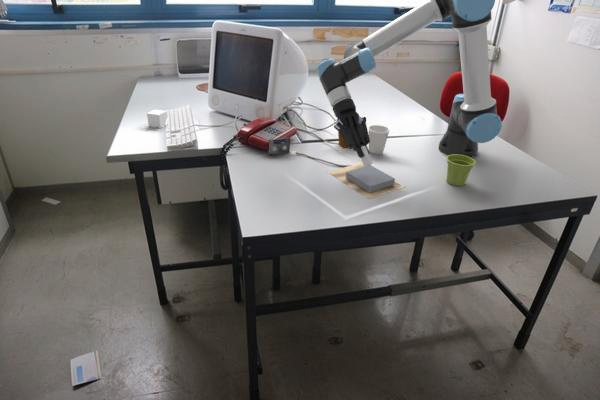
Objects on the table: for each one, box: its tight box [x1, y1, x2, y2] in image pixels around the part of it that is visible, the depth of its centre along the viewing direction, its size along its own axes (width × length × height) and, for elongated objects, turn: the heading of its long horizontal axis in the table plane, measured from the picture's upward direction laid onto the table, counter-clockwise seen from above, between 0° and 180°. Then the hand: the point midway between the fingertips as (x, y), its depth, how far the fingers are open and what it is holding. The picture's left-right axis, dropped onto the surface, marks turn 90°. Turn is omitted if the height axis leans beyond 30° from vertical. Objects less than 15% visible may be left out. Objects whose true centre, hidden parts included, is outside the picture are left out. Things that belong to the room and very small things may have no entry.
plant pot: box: [446, 154, 477, 187], centre depth 141 cm, size 9×9×9 cm
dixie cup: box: [367, 124, 391, 155], centre depth 160 cm, size 8×8×10 cm
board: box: [326, 162, 405, 200], centre depth 140 cm, size 22×16×1 cm
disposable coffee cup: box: [336, 120, 349, 149], centre depth 166 cm, size 10×10×12 cm
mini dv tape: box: [267, 136, 291, 156], centre depth 158 cm, size 8×2×6 cm, turn 111°
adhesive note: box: [146, 109, 169, 129], centre depth 179 cm, size 6×6×6 cm
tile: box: [346, 164, 396, 193], centre depth 138 cm, size 3×11×12 cm
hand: (368, 165), depth 137 cm, fingers closed
